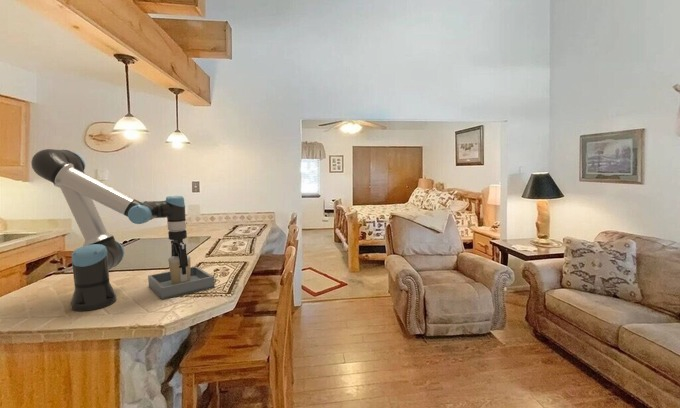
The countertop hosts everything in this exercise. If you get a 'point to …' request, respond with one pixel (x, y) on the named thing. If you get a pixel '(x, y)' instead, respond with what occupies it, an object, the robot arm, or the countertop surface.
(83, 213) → the robot arm
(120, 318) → the countertop surface
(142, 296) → the countertop surface
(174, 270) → the coffee cup
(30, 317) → the countertop surface
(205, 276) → the walled box
